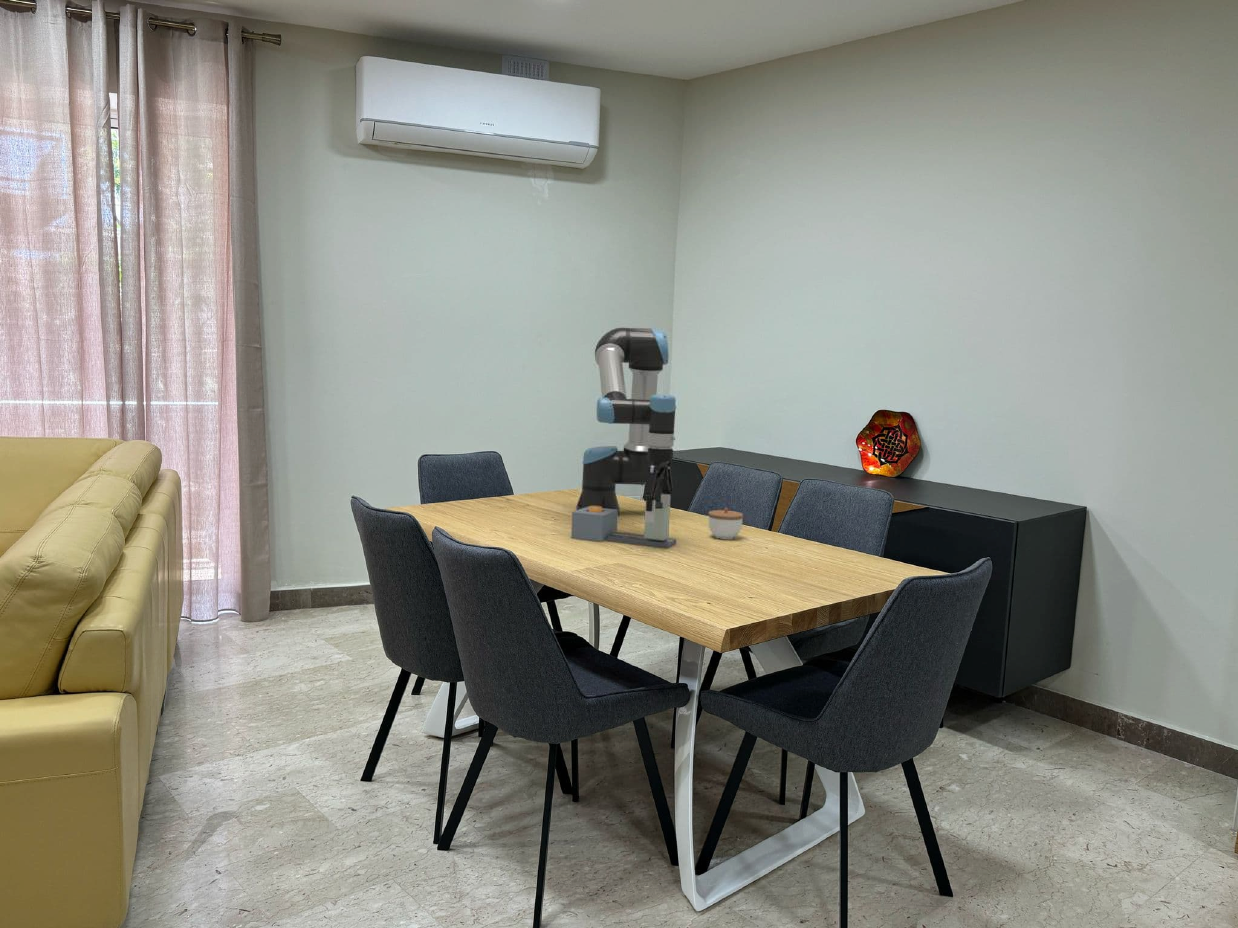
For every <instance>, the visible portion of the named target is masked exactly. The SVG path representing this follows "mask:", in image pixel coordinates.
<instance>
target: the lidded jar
mask: <svg viewBox="0 0 1238 928" xmlns="http://www.w3.org/2000/svg"><path fill="white" fill-rule="evenodd" d="M728 509H729V508H728V507H724V510H723V509H721V510H719V509H717V510H711V511H708V526H709V531H710V532H711V534H712V535H713V536H714V538H715V537H716V539H718V538H721V539H720V540H733V538H734V539H735V538H736V537H737V536H738V535H739V533H740V532H741V530H742V527H743V518H744V514H743V513H742V512H738V511H735V510H728Z"/></svg>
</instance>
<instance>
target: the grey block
mask: <svg viewBox="0 0 1238 928" xmlns="http://www.w3.org/2000/svg"><path fill="white" fill-rule="evenodd" d="M618 516H619V515H618V510H616V509H607V508H602V512H601V513H596V512H589V506H588V507H585V508H582V509H579V510H574V511H572V512H571V530H570V532H571V533H570V534H571V535H570V538H571V539H574V538H576V539H575V540H582V541H583V540H585V541H590V542H599V543H602V542H603V543H604V542H605V541H606V540H607V539H608V536H609V535H612V534H613V533H616V532H618V518H619V517H618Z"/></svg>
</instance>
